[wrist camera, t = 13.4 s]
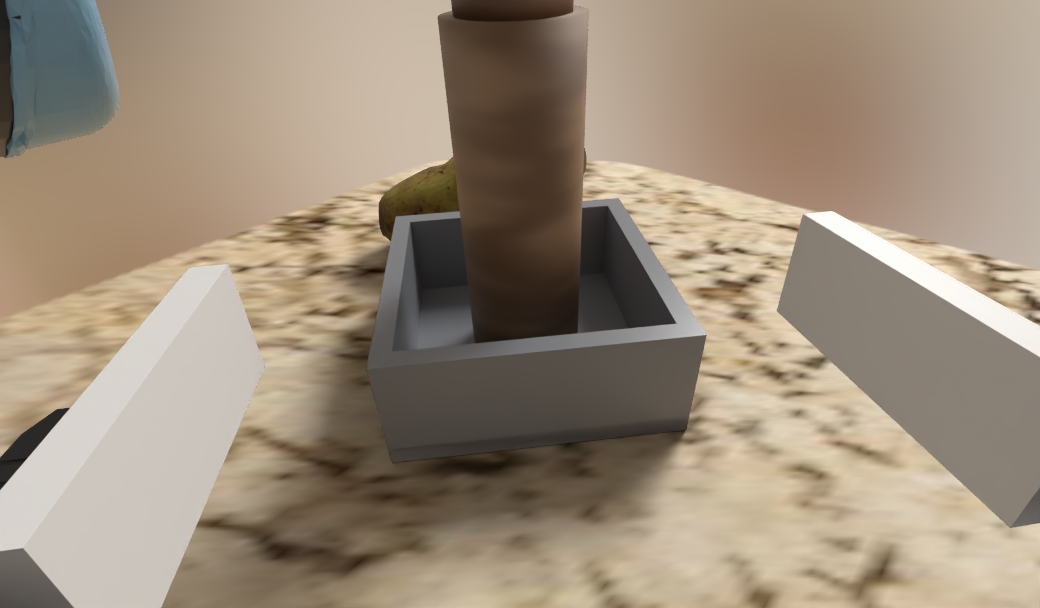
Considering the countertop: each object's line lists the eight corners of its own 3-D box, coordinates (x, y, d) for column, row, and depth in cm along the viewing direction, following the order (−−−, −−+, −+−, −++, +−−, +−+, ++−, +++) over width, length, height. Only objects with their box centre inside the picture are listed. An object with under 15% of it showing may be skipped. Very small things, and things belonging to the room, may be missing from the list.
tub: (392, 463, 21) (366, 369, 18) (410, 294, 31) (395, 216, 28) (686, 429, 22) (706, 335, 19) (612, 276, 31) (618, 198, 28)
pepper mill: (476, 379, 23) (421, -98, 14) (472, 313, 27) (427, -90, 18) (587, 368, 24) (610, -106, 14) (567, 304, 28) (574, -97, 18)
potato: (421, 209, 40) (404, 100, 36) (589, 220, 38) (593, 104, 33) (373, 264, 34) (344, 139, 29) (571, 282, 31) (574, 149, 26)
